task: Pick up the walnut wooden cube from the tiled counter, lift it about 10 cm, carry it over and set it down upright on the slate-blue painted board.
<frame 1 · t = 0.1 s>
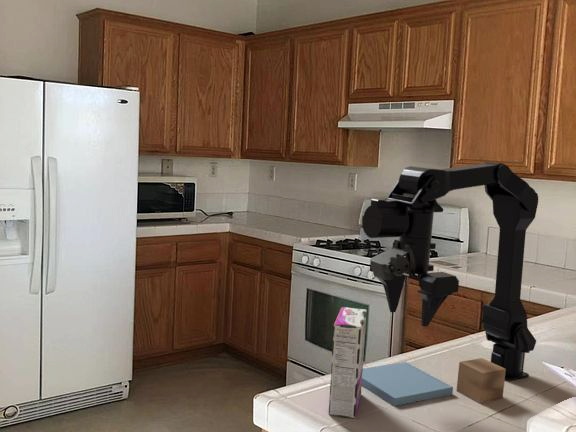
hand: (408, 319, 118), 15 cm above the countertop, fingers open, 9 cm apart
slate board: (400, 385, 124), on the countertop
walnut cube: (479, 395, 122), on the countertop
candy bar box: (344, 405, 114), on the countertop
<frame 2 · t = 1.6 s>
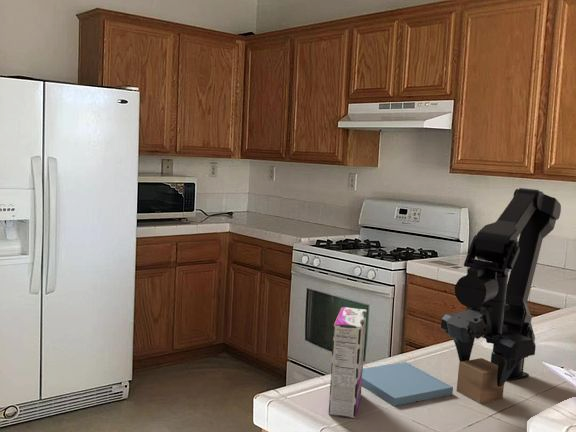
hand: (481, 377, 121), 4 cm above the countertop, fingers open, 9 cm apart
nothing on the countertop moved.
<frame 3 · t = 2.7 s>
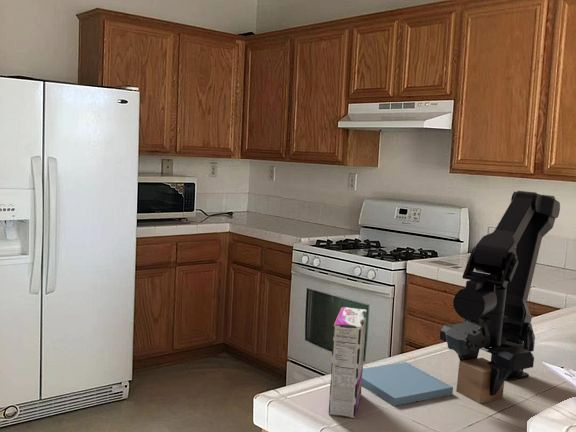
hand: (479, 388, 122), 1 cm above the countertop, fingers closed on walnut cube, 6 cm apart
walnut cube: (479, 394, 122), on the countertop, touching gripper
everything else where it was.
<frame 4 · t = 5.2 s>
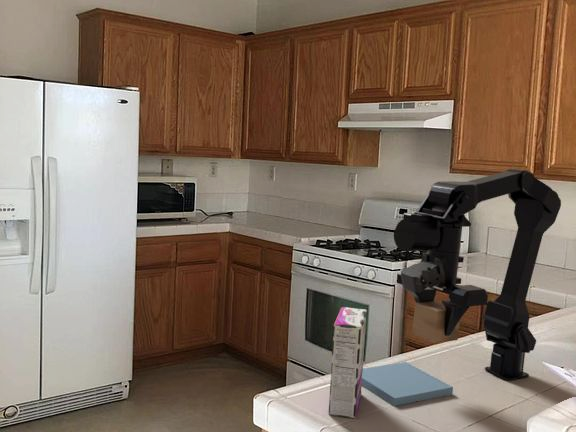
hand: (435, 330, 121), 12 cm above the countertop, fingers closed on walnut cube, 6 cm apart
walnut cube: (434, 336, 121), point 11 cm above the countertop, touching gripper
everything else where it was.
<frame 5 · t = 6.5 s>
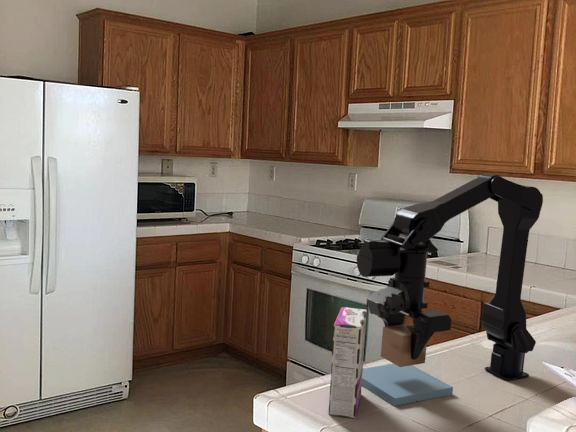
hand: (403, 353, 123), 7 cm above the countertop, fingers closed on walnut cube, 6 cm apart
walnut cube: (402, 359, 123), point 5 cm above the countertop, touching gripper
everything else where it was.
when the fingers open (4 cm above the countertop, at t = 7.8 s): walnut cube drops 2 cm, resting on slate board.
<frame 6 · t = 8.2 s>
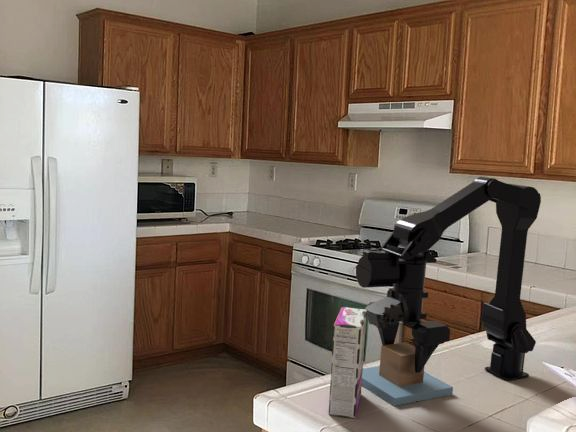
hand: (402, 363, 123), 4 cm above the countertop, fingers open, 9 cm apart
walnut cube: (400, 378, 123), point 1 cm above the countertop, touching slate board
everything else where it was.
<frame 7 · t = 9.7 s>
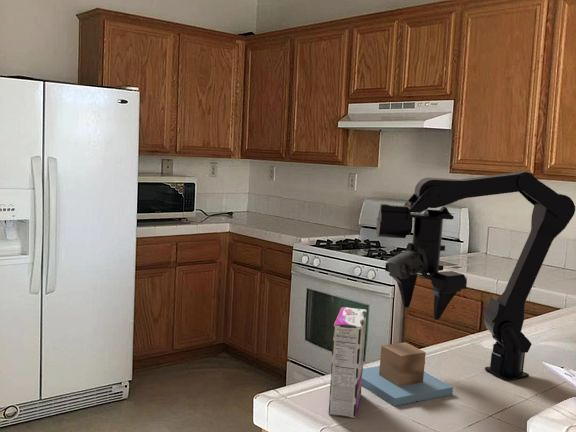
hand: (421, 313, 132), 12 cm above the countertop, fingers open, 9 cm apart
nothing on the countertop moved.
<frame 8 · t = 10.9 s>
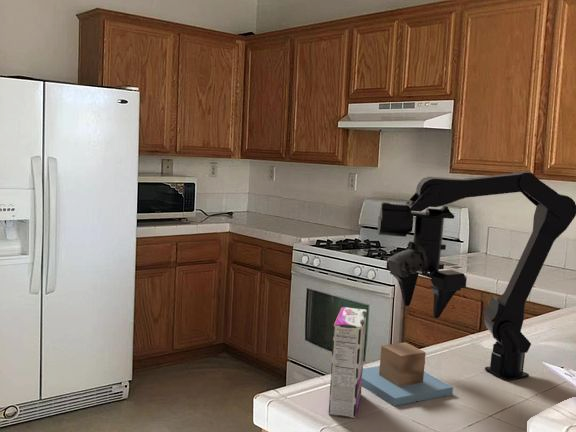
hand: (421, 311, 133), 12 cm above the countertop, fingers open, 9 cm apart
nothing on the countertop moved.
at the end: walnut cube inside the target area on the slate board (0.0 cm from its centre), point 1.5 cm above the slate board's base; walnut cube tilted 0°; the gripper is holding nothing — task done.
